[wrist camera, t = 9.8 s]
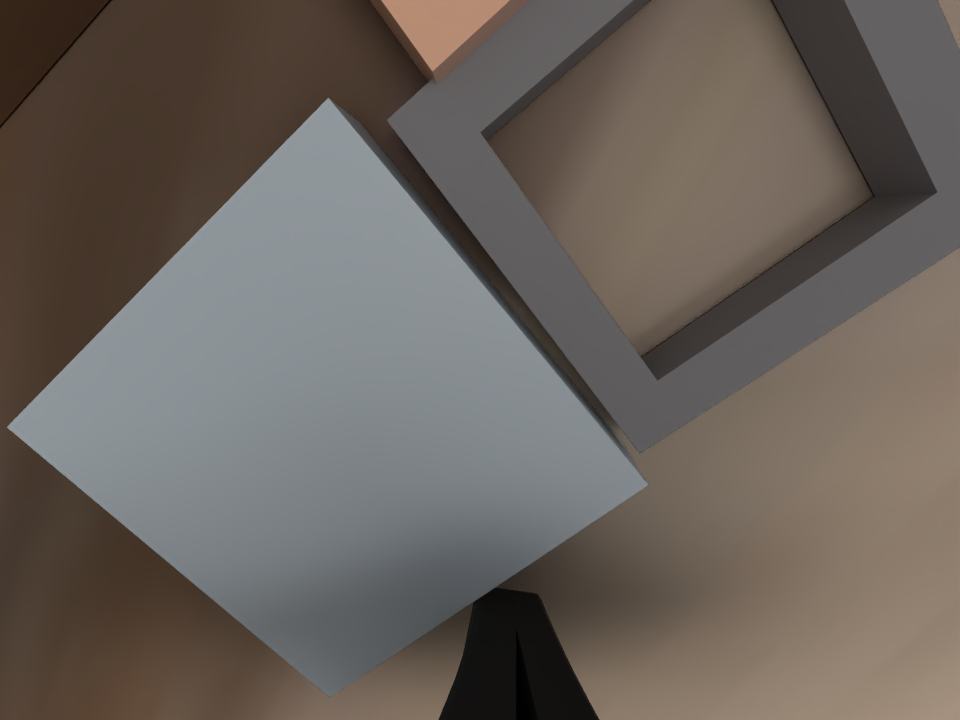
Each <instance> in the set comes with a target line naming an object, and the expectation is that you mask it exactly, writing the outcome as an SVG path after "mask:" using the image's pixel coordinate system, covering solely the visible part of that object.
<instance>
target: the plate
mask: <svg viewBox="0 0 960 720" xmlns="http://www.w3.org/2000/svg"><path fill="white" fill-rule="evenodd" d="M7 428H8V429H10V430H11V431H12V432H13V433H14V434H16V435H17V436H18V437H19V438H20V439H21V440H23V441H24V442H25V443H26V444H27V445H29V446H30V447H31V448H32V449H33V450H35V451H36V452H37V453H38V454H39V455H41V456H42V457H43V458H44V459H45V460H47V461H48V462H49V463H50V464H51V465H53V466H54V467H55V468H56V469H57V470H59V471H60V472H61V473H62V474H63V475H64V476H66V477H67V478H68V479H69V480H70V481H72V482H73V483H74V484H75V485H76V486H78V487H79V488H80V489H81V490H82V491H84V492H85V493H86V494H87V495H88V496H90V497H91V498H92V499H93V500H94V501H96V502H97V503H98V504H99V505H100V506H101V507H103V508H104V509H105V510H106V511H107V512H109V513H110V514H111V515H112V516H113V517H115V518H116V519H117V520H118V521H119V522H121V523H122V524H123V525H124V526H125V527H127V528H128V529H129V530H130V531H131V532H133V533H134V534H135V535H136V536H137V537H138V538H140V539H141V540H142V541H143V542H144V543H146V544H147V545H148V546H149V547H150V548H152V549H153V550H154V551H155V552H156V553H158V554H159V555H160V556H161V557H162V558H164V559H165V560H166V561H167V562H168V563H170V564H171V565H172V566H173V567H174V568H175V569H177V570H178V571H179V572H180V573H181V574H183V575H184V576H185V577H186V578H187V579H189V580H190V581H191V582H192V583H193V584H195V585H196V586H197V587H198V588H199V589H201V590H202V591H203V592H204V593H205V594H207V595H208V596H209V597H210V598H211V599H213V600H214V601H215V602H216V603H217V604H218V605H220V606H221V607H222V608H223V609H224V610H226V611H227V612H228V613H229V614H230V615H232V616H233V617H234V618H235V619H236V620H238V621H239V622H240V623H241V624H242V625H244V626H245V627H246V628H247V629H248V630H250V631H251V632H252V633H253V634H254V635H255V636H257V637H258V638H259V639H260V640H261V641H263V642H264V643H265V644H266V645H267V646H269V647H270V648H271V649H272V650H273V651H275V652H276V653H277V654H278V655H279V656H281V657H282V658H283V659H284V660H285V661H287V662H288V663H289V664H290V665H291V666H292V667H294V668H295V669H296V670H297V671H298V672H300V673H301V674H302V675H303V676H304V677H306V678H307V679H308V680H309V681H310V682H312V683H313V684H314V685H315V686H316V687H318V688H319V689H320V690H321V691H322V692H324V693H325V694H326V695H327V696H328V697H329V698H330V697H332V696H333V695H335V694H336V693H338V692H339V691H341V690H342V689H344V688H345V687H347V686H348V685H350V684H351V683H353V682H354V681H356V680H357V679H359V678H360V677H362V676H363V675H365V674H366V673H368V672H369V671H371V670H372V669H374V668H375V667H377V666H378V665H380V664H381V663H383V662H384V661H386V660H387V659H389V658H390V657H392V656H393V655H395V654H396V653H398V652H399V651H401V650H402V649H404V648H405V647H407V646H408V645H410V644H411V643H413V642H414V641H416V640H417V639H419V638H420V637H422V636H423V635H425V634H426V633H428V632H429V631H431V630H432V629H434V628H435V627H437V626H438V625H440V624H441V623H443V622H444V621H446V620H447V619H449V618H450V617H452V616H453V615H455V614H456V613H458V612H459V611H461V610H462V609H464V608H465V607H467V606H468V605H470V604H471V603H473V602H474V601H476V600H477V599H479V598H480V597H482V596H483V595H485V594H486V593H488V592H489V591H491V590H492V589H494V588H495V587H497V586H498V585H500V584H501V583H503V582H504V581H506V580H507V579H509V578H510V577H512V576H513V575H515V574H516V573H518V572H519V571H521V570H522V569H524V568H525V567H527V566H528V565H530V564H531V563H533V562H534V561H536V560H537V559H539V558H540V557H542V556H543V555H545V554H546V553H548V552H549V551H551V550H552V549H554V548H555V547H557V546H558V545H560V544H561V543H563V542H564V541H566V540H567V539H569V538H570V537H572V536H573V535H575V534H576V533H578V532H579V531H581V530H582V529H584V528H585V527H587V526H588V525H590V524H591V523H593V522H594V521H596V520H597V519H599V518H600V517H602V516H603V515H605V514H606V513H608V512H609V511H611V510H612V509H614V508H615V507H617V506H618V505H620V504H621V503H623V502H624V501H626V500H627V499H629V498H630V497H632V496H633V495H635V494H636V493H638V492H639V491H641V490H642V489H644V488H645V487H647V486H648V483H647V481H646V480H645V478H644V477H643V475H642V473H641V472H640V470H639V468H638V467H637V465H636V463H635V462H634V460H633V459H632V457H631V455H630V454H629V452H628V450H627V449H626V447H625V445H624V444H623V442H622V441H621V440H620V439H619V438H618V436H617V435H616V434H615V433H614V431H613V430H612V429H611V428H610V427H609V425H608V424H607V423H606V422H605V420H604V419H603V418H602V417H601V416H600V414H599V413H598V412H597V411H596V410H595V408H594V407H593V406H592V405H591V403H590V402H589V401H588V400H587V399H586V397H585V396H584V395H583V394H582V393H581V391H580V390H579V389H578V388H577V386H576V385H575V384H574V383H573V382H572V380H571V379H570V378H569V377H568V375H567V374H566V373H565V372H564V371H563V369H562V368H561V367H560V366H559V365H558V363H557V362H556V361H555V360H554V358H553V357H552V356H551V355H550V354H549V352H548V351H547V350H546V349H545V348H544V346H543V345H542V344H541V343H540V341H539V340H538V339H537V338H536V337H535V335H534V334H533V333H532V332H531V330H530V329H529V328H528V327H527V326H526V324H525V323H524V322H523V321H522V320H521V318H520V317H519V316H518V315H517V313H516V312H515V311H514V310H513V309H512V307H511V306H510V305H509V304H508V303H507V301H506V300H505V299H504V298H503V296H502V295H501V294H500V293H499V292H498V290H497V289H496V288H495V287H494V285H493V284H492V283H491V282H490V281H489V279H488V278H487V277H486V276H485V275H484V273H483V272H482V271H481V270H480V268H479V267H478V266H477V265H476V264H475V262H474V261H473V260H472V259H471V258H470V256H469V255H468V254H467V253H466V251H465V250H464V249H463V248H462V247H461V245H460V244H459V243H458V242H457V240H456V239H455V238H454V237H453V236H452V234H451V233H450V232H449V231H448V230H447V228H446V227H445V226H444V225H443V223H442V222H441V221H440V220H439V219H438V217H437V216H436V215H435V214H434V213H433V211H432V210H431V209H430V208H429V206H428V205H427V204H426V203H425V202H424V200H423V199H422V198H421V197H420V195H419V194H418V193H417V192H416V191H415V189H414V188H413V187H412V186H411V185H410V183H409V182H408V181H407V180H406V178H405V177H404V176H403V175H402V174H401V172H400V171H399V170H398V169H397V168H396V166H395V165H394V164H393V163H392V161H391V160H390V159H389V158H388V157H387V155H386V154H385V153H384V152H383V150H382V149H381V148H380V147H379V146H378V144H377V143H376V142H375V141H374V140H373V138H372V137H371V136H370V135H369V133H368V132H367V131H366V130H365V129H364V127H363V126H362V125H361V124H360V123H359V122H358V121H357V120H356V119H355V118H353V117H352V116H351V115H350V114H348V113H347V112H346V111H344V110H343V109H342V108H341V107H339V106H338V105H337V104H336V103H334V102H333V101H332V100H330V99H329V98H328V99H327V100H326V101H325V102H324V103H323V104H322V105H321V106H320V107H319V108H318V109H317V110H316V111H315V112H314V113H313V114H312V115H311V116H310V117H309V118H308V119H307V120H306V121H305V122H304V123H303V124H302V125H301V126H300V127H299V128H298V129H297V130H296V132H295V133H294V134H293V135H292V136H291V137H290V138H289V139H288V140H287V141H286V142H285V143H284V144H283V145H282V146H281V147H280V148H279V149H278V150H277V151H276V152H275V153H274V154H273V155H272V156H271V157H270V158H269V159H268V160H267V161H266V162H265V163H264V164H263V165H262V166H261V167H260V168H259V169H258V170H257V171H256V172H255V174H254V175H253V176H252V177H251V178H250V179H249V180H248V181H247V182H246V183H245V184H244V185H243V186H242V187H241V188H240V189H239V190H238V191H237V192H236V193H235V194H234V195H233V196H232V197H231V198H230V199H229V200H228V201H227V202H226V203H225V204H224V205H223V206H222V207H221V208H220V209H219V210H218V211H217V212H216V213H215V214H214V216H213V217H212V218H211V219H210V220H209V221H208V222H207V223H206V224H205V225H204V226H203V227H202V228H201V229H200V230H199V231H198V232H197V233H196V234H195V235H194V236H193V237H192V238H191V239H190V240H189V241H188V242H187V243H186V244H185V245H184V246H183V247H182V248H181V249H180V250H179V251H178V252H177V253H176V254H175V255H174V257H173V258H172V259H171V260H170V261H169V262H168V263H167V264H166V265H165V266H164V267H163V268H162V269H161V270H160V271H159V272H158V273H157V274H156V275H155V276H154V277H153V278H152V279H151V280H150V281H149V282H148V283H147V284H146V285H145V286H144V287H143V288H142V289H141V290H140V291H139V292H138V293H137V294H136V295H135V296H134V297H133V299H132V300H131V301H130V302H129V303H128V304H127V305H126V306H125V307H124V308H123V309H122V310H121V311H120V312H119V313H118V314H117V315H116V316H115V317H114V318H113V319H112V320H111V321H110V322H109V323H108V324H107V325H106V326H105V327H104V328H103V329H102V330H101V331H100V332H99V333H98V334H97V335H96V336H95V337H94V338H93V339H92V341H91V342H90V343H89V344H88V345H87V346H86V347H85V348H84V349H83V350H82V351H81V352H80V353H79V354H78V355H77V356H76V357H75V358H74V359H73V360H72V361H71V362H70V363H69V364H68V365H67V366H66V367H65V368H64V369H63V370H62V371H61V372H60V373H59V374H58V375H57V376H56V377H55V378H54V379H53V380H52V381H51V383H50V384H49V385H48V386H47V387H46V388H45V389H44V390H43V391H42V392H41V393H40V394H39V395H38V396H37V397H36V398H35V399H34V400H33V401H32V402H31V403H30V404H29V405H28V406H27V407H26V408H25V409H24V410H23V411H22V412H21V413H20V414H19V415H18V416H17V417H16V418H15V419H14V420H13V421H12V422H11V424H10V425H9V426H8V427H7Z"/></svg>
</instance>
